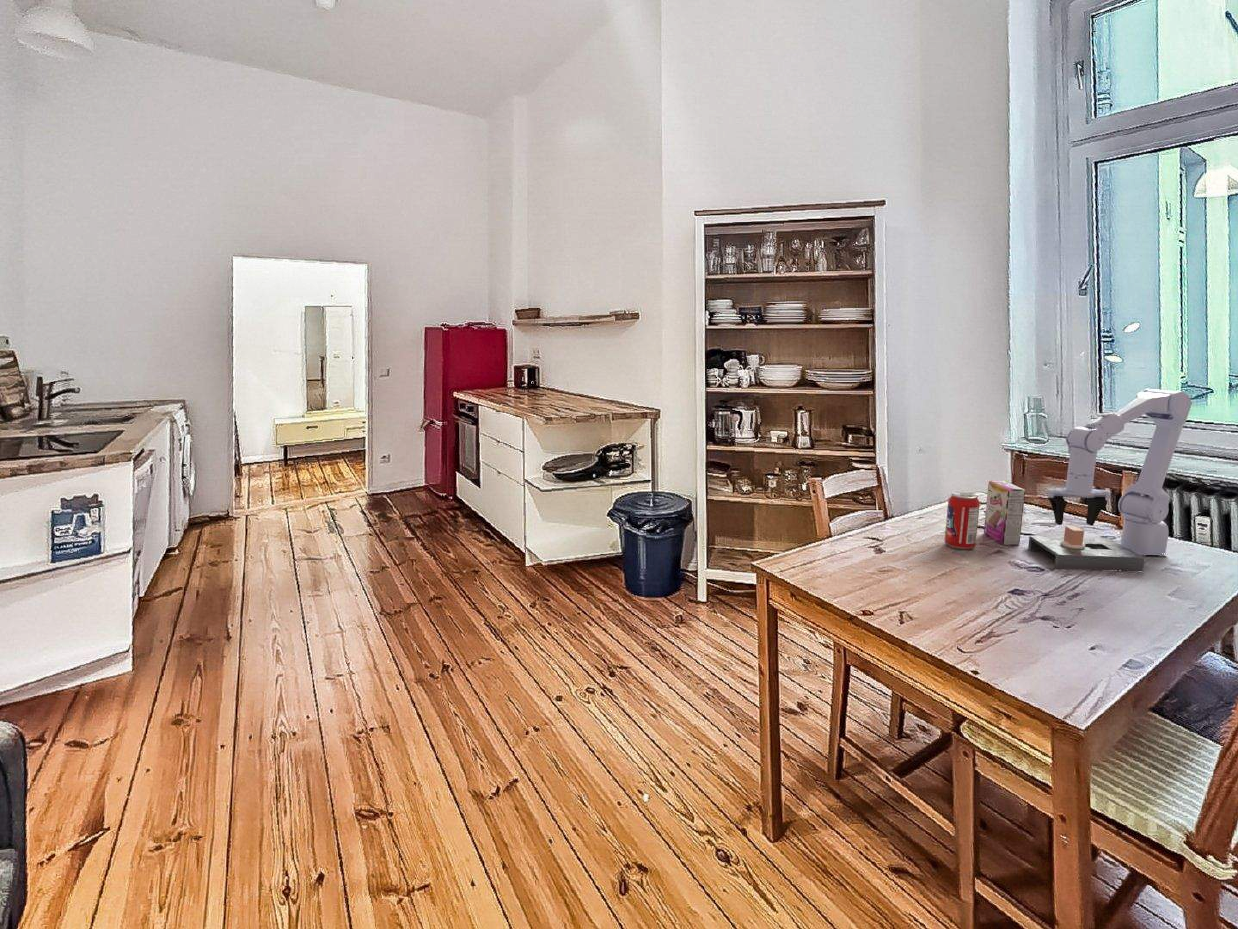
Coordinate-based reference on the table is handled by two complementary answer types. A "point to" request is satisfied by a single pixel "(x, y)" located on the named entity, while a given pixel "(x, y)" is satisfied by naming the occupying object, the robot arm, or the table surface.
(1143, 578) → the table surface
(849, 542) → the table surface
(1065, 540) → the peg
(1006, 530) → the candy bar box
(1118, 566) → the keyhole bracket
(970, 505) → the soda can
